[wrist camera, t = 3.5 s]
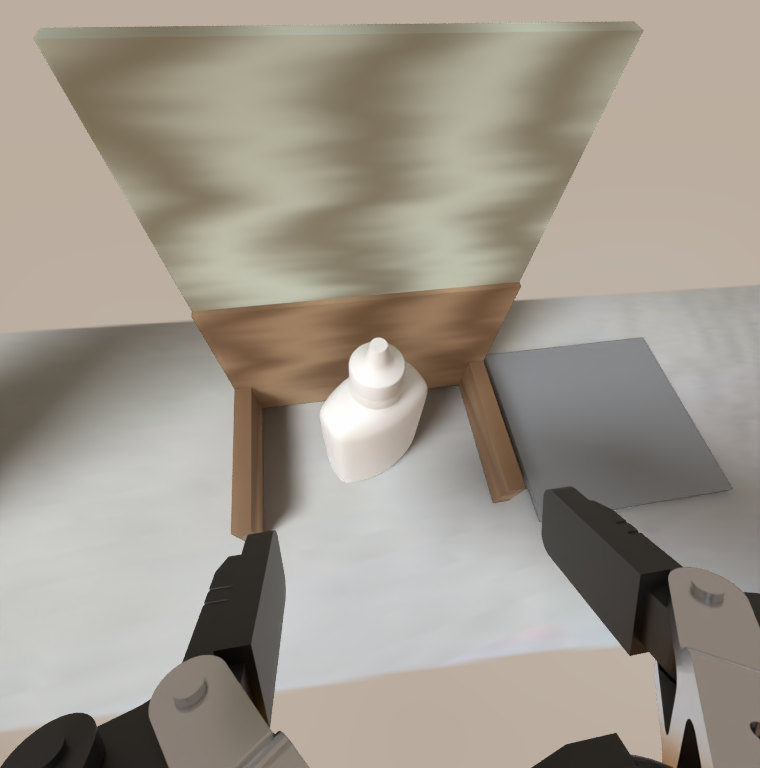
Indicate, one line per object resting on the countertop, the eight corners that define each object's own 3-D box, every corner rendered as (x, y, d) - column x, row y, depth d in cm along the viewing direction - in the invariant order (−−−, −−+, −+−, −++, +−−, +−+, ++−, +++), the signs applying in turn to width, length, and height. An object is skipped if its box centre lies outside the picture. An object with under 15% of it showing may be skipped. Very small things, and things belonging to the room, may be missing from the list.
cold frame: (246, 541, 23) (-148, 336, 5) (247, 397, 27) (40, 26, 10) (508, 500, 24) (881, 244, 7) (468, 371, 29) (632, 19, 11)
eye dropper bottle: (327, 422, 26) (306, 304, 16) (409, 416, 27) (440, 298, 16) (329, 486, 24) (305, 398, 14) (418, 479, 25) (459, 389, 14)
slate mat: (539, 521, 24) (541, 520, 23) (483, 358, 30) (485, 355, 29) (727, 490, 25) (732, 488, 25) (639, 340, 31) (643, 337, 31)
